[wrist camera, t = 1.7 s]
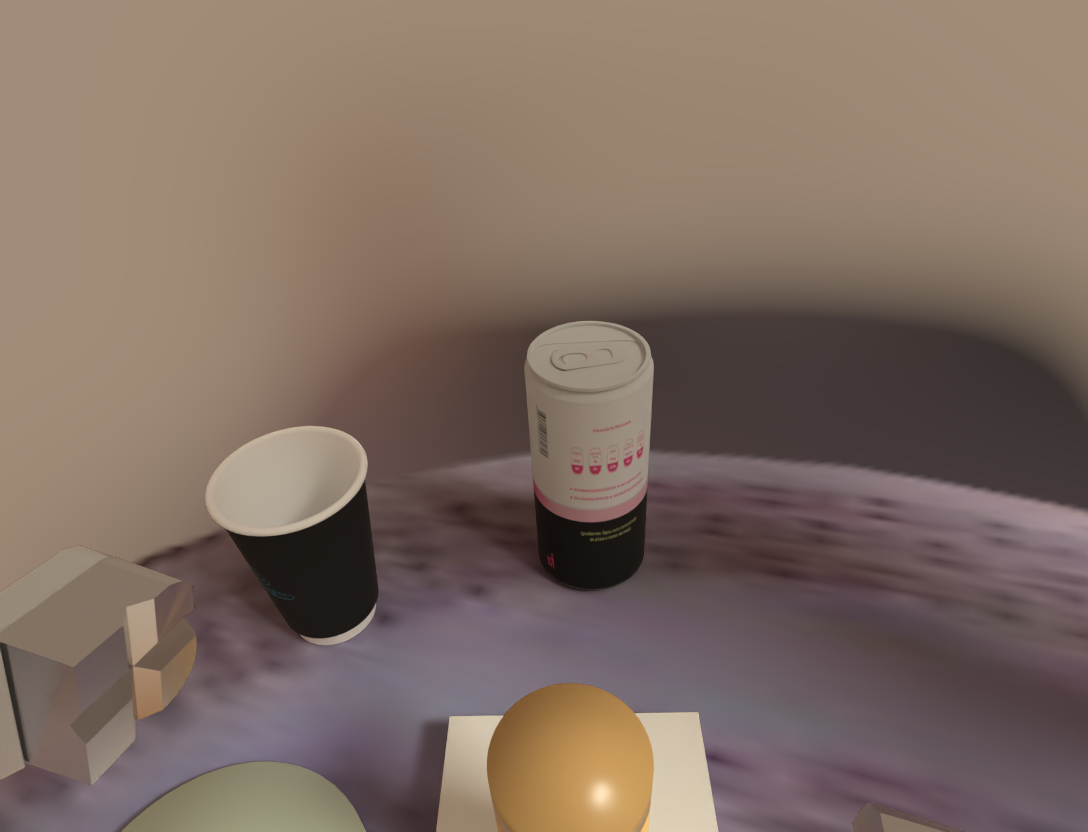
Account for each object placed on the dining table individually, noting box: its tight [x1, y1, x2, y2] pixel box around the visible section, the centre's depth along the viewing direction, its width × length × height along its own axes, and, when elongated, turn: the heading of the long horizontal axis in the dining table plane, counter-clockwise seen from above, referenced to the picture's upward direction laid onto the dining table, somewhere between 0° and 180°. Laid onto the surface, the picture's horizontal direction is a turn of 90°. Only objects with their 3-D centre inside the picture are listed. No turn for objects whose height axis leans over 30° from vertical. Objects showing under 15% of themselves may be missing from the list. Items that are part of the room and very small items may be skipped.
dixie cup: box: [205, 426, 378, 645], centre depth 40 cm, size 8×8×11 cm
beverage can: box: [525, 321, 654, 590], centre depth 41 cm, size 6×7×15 cm
